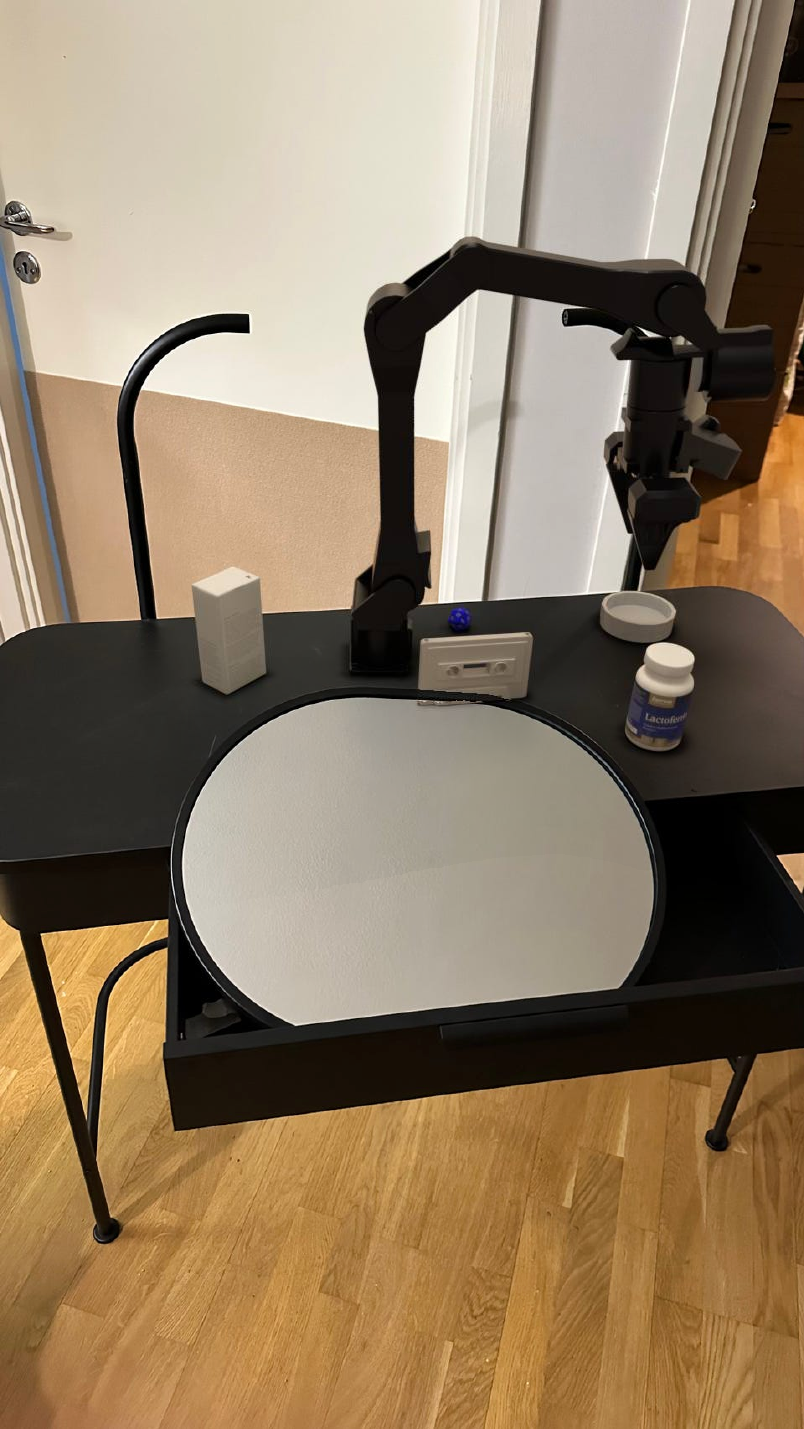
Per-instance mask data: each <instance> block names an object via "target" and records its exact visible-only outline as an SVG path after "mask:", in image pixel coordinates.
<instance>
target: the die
mask: <svg viewBox="0 0 804 1429" xmlns="http://www.w3.org/2000/svg"><path fill="white" fill-rule="evenodd" d="M472 618H473V616H472V614H471V613H470V612H469V611H468V610H467V609H466V608H465V607H464V606H461V607H458V608H455V609H452V611H451V612H450V614H449V617H448V619H447V623H448V624H449V625H450V626H451V627H452V629H454V630H455V632H457V631H461V630H465V629H467V628H468V626H469V624H470V623H471V620H472Z"/></svg>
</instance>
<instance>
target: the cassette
mask: <svg viewBox="0 0 804 1429" xmlns="http://www.w3.org/2000/svg"><path fill="white" fill-rule="evenodd" d="M533 643H534V638H533V635H532V634H531V632H529V631H528V632H527V631H526V632H525V631H524V632H512V633H510V632H509V633H497V634H496V633H495V634H493V633H492V634H477V635H462V636H448V637H447V636H446V637H432V638H431V637H430V638H429V637H428V638H422V639H421V640H420V644H419V645H420V647H419V661H418V662H419V665H418V683H417V684H418V686H417V690H418V689H420V690H434V691H446V692H462V693H477V694H489V695H494V696H498V697H501V698H504V699H509V700H508V701H511V699H522V698H523V699H524V698H525V697H526V696H527V694H528V693H527V692H528V683H529V677H530V676H529V675H530V668H531V661H532V660H531V659H532V652H533ZM478 664H485V667H469V668H468V667H467V668H464V667H465V666H464V665H478ZM417 702H418V703H419V705H420V706H428V705H435V706H449V705H464V704H477V703H483V702H482V701H476V702H470V701H465V700H463V701H457V700H456V701H451V702H445V701H443V703H441V702H439V703H437V702H435V701H426V702H423V701H418V700H417Z"/></svg>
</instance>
